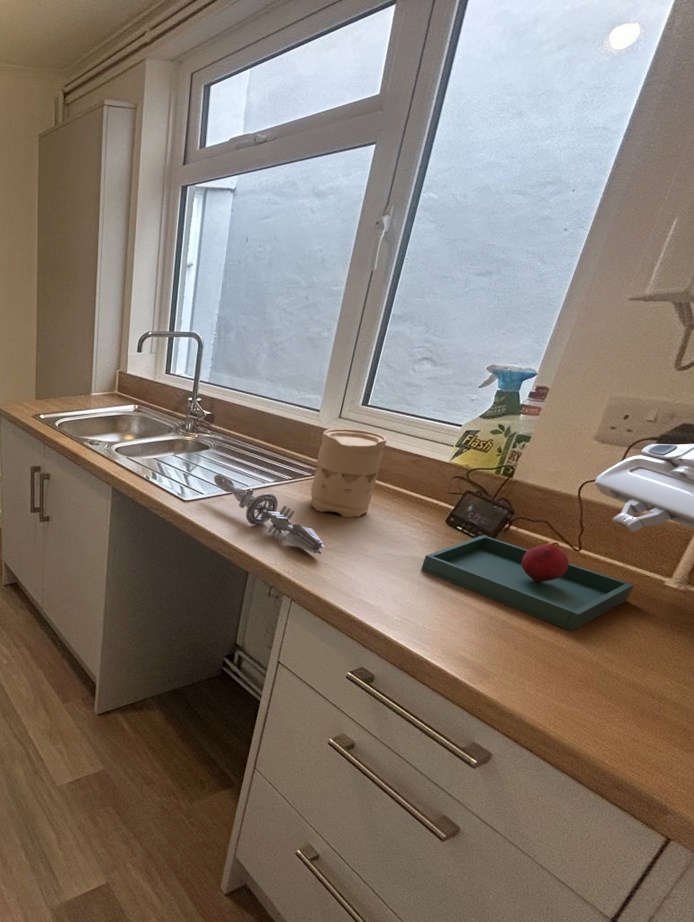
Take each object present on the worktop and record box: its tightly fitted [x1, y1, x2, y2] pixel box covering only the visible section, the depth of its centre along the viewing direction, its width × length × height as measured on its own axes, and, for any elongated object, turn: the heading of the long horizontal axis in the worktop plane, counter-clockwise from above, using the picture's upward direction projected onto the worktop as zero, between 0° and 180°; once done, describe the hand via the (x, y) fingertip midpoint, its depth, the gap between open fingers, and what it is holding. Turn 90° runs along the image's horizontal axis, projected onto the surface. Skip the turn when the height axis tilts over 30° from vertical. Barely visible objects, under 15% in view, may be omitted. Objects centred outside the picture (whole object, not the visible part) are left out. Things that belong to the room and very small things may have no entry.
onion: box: [521, 540, 570, 582], centre depth 92 cm, size 6×6×8 cm
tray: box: [421, 534, 635, 632], centre depth 93 cm, size 22×20×3 cm
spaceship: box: [213, 474, 326, 555], centre depth 117 cm, size 8×35×8 cm
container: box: [310, 428, 388, 518], centre depth 124 cm, size 13×13×18 cm
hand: (621, 525), depth 89 cm, fingers closed
